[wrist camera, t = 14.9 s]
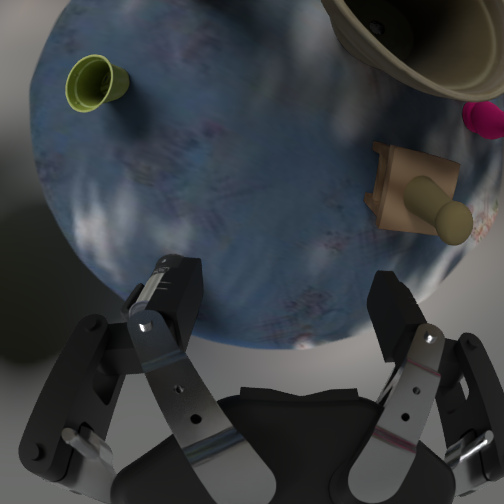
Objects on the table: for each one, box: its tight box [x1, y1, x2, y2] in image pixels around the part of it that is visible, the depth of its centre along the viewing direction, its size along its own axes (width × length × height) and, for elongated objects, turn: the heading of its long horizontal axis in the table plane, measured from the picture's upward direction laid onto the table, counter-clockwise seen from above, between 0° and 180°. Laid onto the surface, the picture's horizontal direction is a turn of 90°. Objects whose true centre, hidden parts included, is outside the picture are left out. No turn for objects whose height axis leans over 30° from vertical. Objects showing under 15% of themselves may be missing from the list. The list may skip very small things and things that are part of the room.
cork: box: [403, 175, 473, 245], centre depth 28 cm, size 6×6×11 cm
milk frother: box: [120, 254, 198, 322], centre depth 51 cm, size 14×16×15 cm
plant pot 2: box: [321, 0, 504, 102], centre depth 19 cm, size 25×25×22 cm
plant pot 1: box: [66, 55, 129, 112], centre depth 32 cm, size 9×9×9 cm
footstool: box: [364, 141, 460, 236], centre depth 37 cm, size 12×12×10 cm
